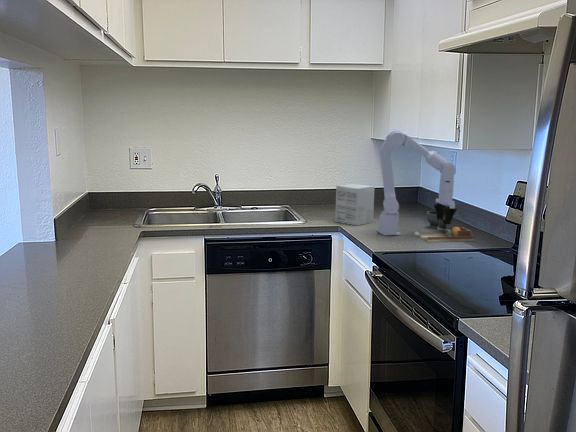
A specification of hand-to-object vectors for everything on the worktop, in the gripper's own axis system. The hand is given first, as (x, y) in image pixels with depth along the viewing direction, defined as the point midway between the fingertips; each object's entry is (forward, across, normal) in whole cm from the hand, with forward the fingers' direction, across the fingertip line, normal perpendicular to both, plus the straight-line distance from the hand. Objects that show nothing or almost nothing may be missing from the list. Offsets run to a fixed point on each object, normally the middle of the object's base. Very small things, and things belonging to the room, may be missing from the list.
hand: (443, 222), depth 247 cm
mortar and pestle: (+6, +18, -5) cm, 19 cm away
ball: (+3, -6, -3) cm, 7 cm away
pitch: (+6, -4, +2) cm, 7 cm away
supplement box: (+6, +34, +30) cm, 45 cm away
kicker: (+5, -3, 0) cm, 5 cm away
